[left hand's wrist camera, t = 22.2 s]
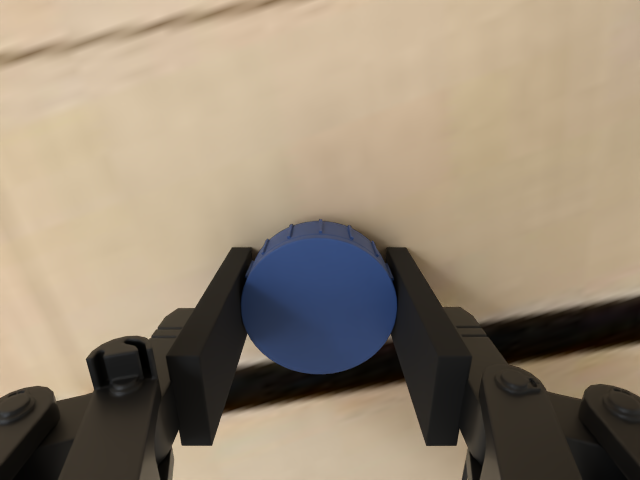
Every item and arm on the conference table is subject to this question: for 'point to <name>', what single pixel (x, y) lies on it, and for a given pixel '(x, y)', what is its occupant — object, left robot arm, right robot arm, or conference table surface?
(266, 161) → the conference table surface
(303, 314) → the lid
